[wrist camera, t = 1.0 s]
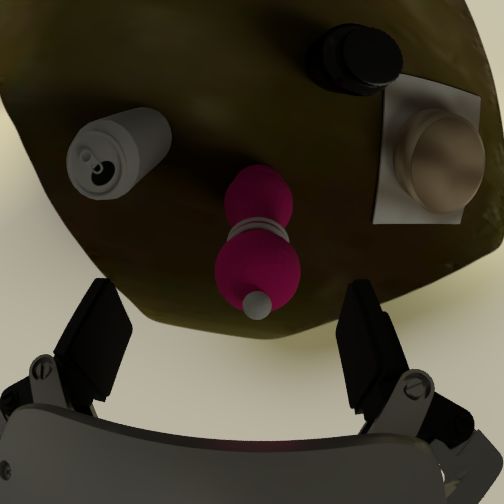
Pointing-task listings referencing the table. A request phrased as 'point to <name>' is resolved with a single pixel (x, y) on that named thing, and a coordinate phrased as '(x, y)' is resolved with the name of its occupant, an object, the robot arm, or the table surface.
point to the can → (117, 152)
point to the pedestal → (427, 153)
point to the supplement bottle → (354, 60)
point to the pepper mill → (257, 244)
